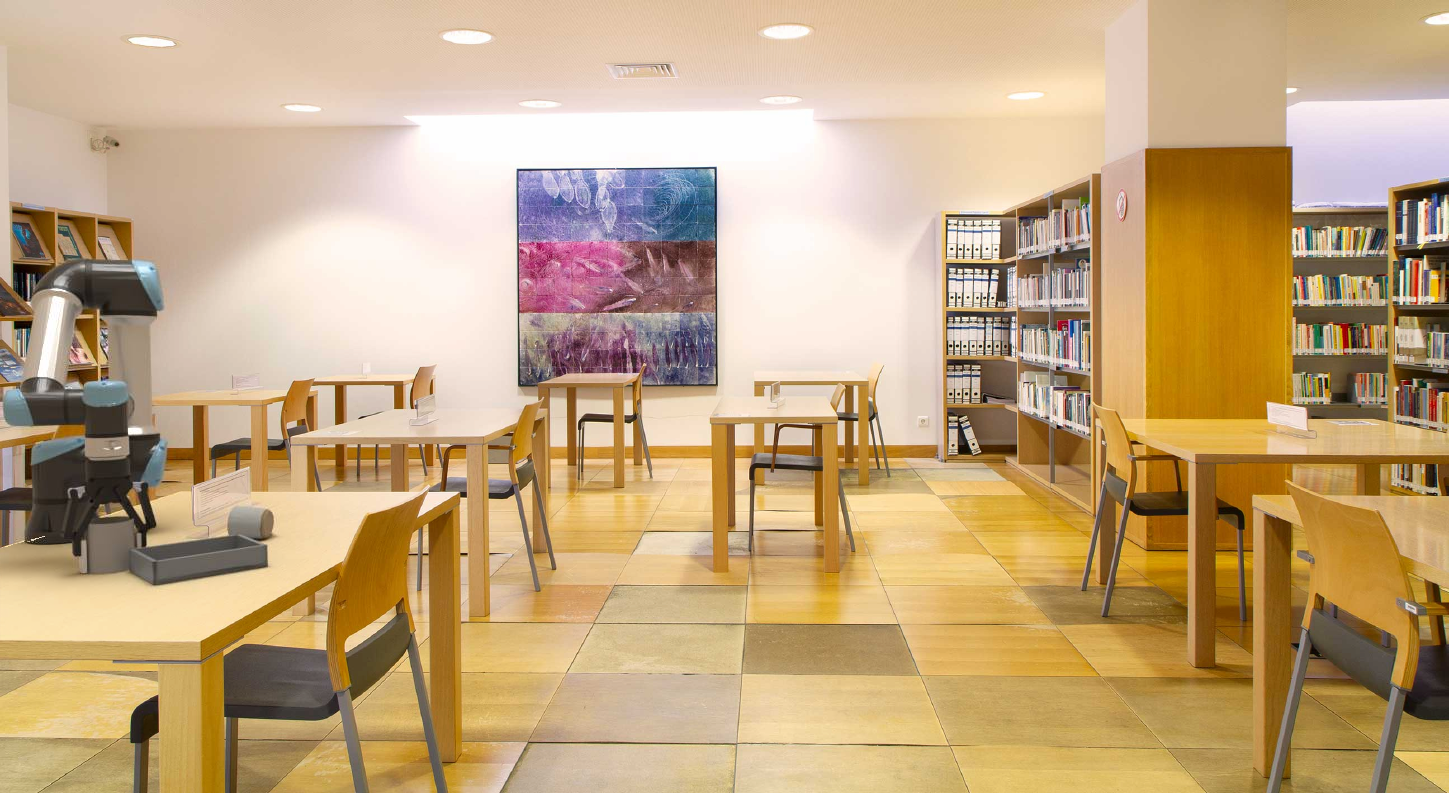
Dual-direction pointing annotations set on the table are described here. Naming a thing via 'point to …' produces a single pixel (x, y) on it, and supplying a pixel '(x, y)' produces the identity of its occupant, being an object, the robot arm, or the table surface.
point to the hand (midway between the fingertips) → (110, 567)
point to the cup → (109, 544)
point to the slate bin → (197, 558)
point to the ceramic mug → (250, 522)
